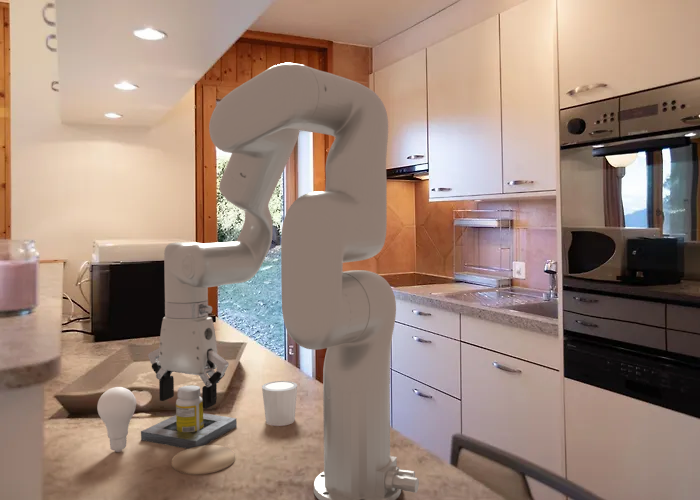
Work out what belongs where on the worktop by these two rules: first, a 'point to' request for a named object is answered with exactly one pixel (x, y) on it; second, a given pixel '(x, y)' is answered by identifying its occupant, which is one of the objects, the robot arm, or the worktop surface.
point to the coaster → (203, 459)
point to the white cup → (279, 402)
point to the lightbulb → (117, 414)
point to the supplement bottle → (189, 409)
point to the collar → (169, 436)
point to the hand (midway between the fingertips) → (187, 402)
